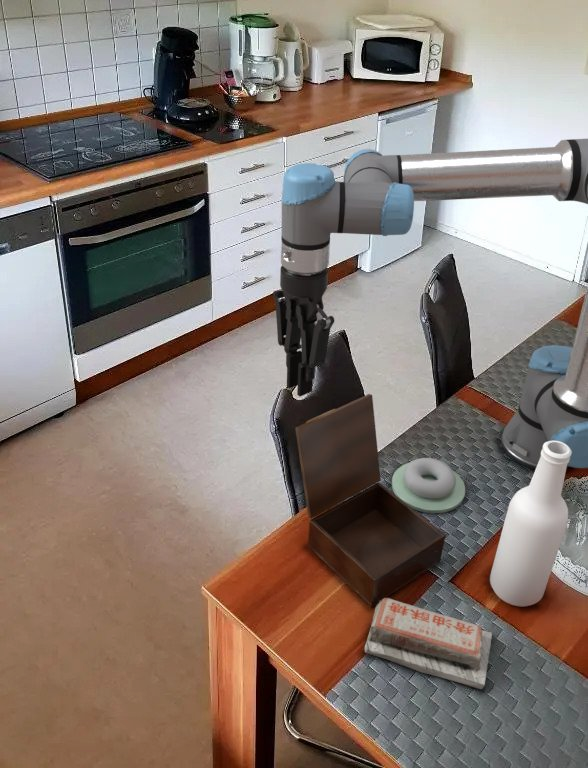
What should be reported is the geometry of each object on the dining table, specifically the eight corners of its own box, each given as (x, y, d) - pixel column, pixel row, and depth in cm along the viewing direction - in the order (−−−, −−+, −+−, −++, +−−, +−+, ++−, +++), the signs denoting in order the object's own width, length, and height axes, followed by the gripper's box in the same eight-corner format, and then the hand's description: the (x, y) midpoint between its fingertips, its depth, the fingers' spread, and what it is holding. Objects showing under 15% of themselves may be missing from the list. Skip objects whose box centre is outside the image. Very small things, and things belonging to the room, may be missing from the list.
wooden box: (440, 562, 127) (445, 534, 123) (371, 608, 118) (375, 580, 115) (375, 508, 137) (379, 481, 133) (307, 547, 129) (309, 519, 125)
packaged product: (365, 634, 108) (381, 584, 116) (362, 654, 111) (378, 604, 119) (489, 672, 104) (497, 617, 112) (483, 692, 107) (491, 637, 114)
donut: (463, 483, 143) (419, 460, 148) (466, 469, 141) (421, 446, 146) (437, 510, 136) (392, 485, 141) (440, 497, 134) (394, 472, 139)
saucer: (473, 478, 145) (474, 475, 144) (451, 523, 134) (452, 520, 134) (406, 455, 150) (407, 452, 149) (380, 496, 140) (380, 493, 139)
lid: (372, 394, 126) (352, 387, 130) (298, 429, 118) (279, 420, 122) (380, 480, 133) (362, 471, 137) (311, 518, 124) (293, 508, 128)
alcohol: (549, 581, 124) (596, 442, 107) (533, 617, 118) (580, 476, 101) (499, 559, 128) (536, 421, 111) (481, 593, 121) (517, 453, 104)
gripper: (256, 254, 119) (256, 375, 132) (317, 291, 109) (310, 418, 122) (293, 243, 122) (289, 362, 136) (355, 278, 113) (344, 402, 126)
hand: (299, 388), depth 129 cm, fingers open, 2 cm apart
